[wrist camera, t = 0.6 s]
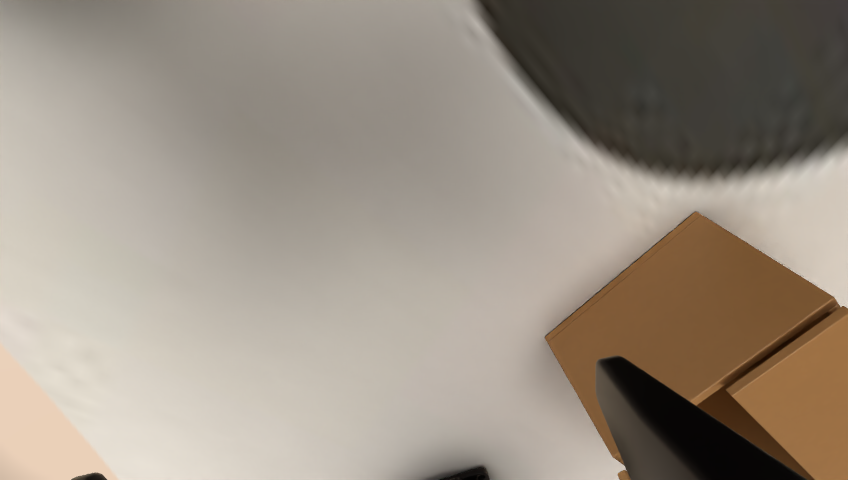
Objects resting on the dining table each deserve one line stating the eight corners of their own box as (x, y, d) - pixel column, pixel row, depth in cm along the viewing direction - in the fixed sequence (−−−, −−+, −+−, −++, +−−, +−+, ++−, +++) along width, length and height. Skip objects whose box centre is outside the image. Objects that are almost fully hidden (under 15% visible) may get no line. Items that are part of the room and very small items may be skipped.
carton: (654, 427, 34) (750, 564, 26) (544, 337, 29) (621, 473, 21) (789, 330, 31) (944, 448, 23) (695, 210, 26) (854, 309, 18)
